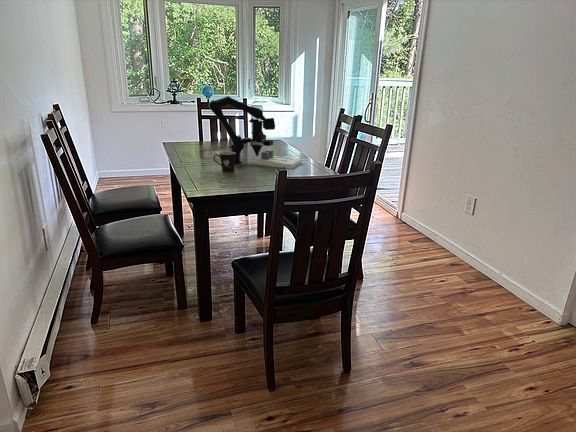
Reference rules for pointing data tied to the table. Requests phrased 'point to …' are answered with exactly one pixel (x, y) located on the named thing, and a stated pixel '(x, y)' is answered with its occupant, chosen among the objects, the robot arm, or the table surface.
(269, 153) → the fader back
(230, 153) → the coffee mug
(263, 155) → the fader front
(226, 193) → the table surface
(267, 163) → the console
